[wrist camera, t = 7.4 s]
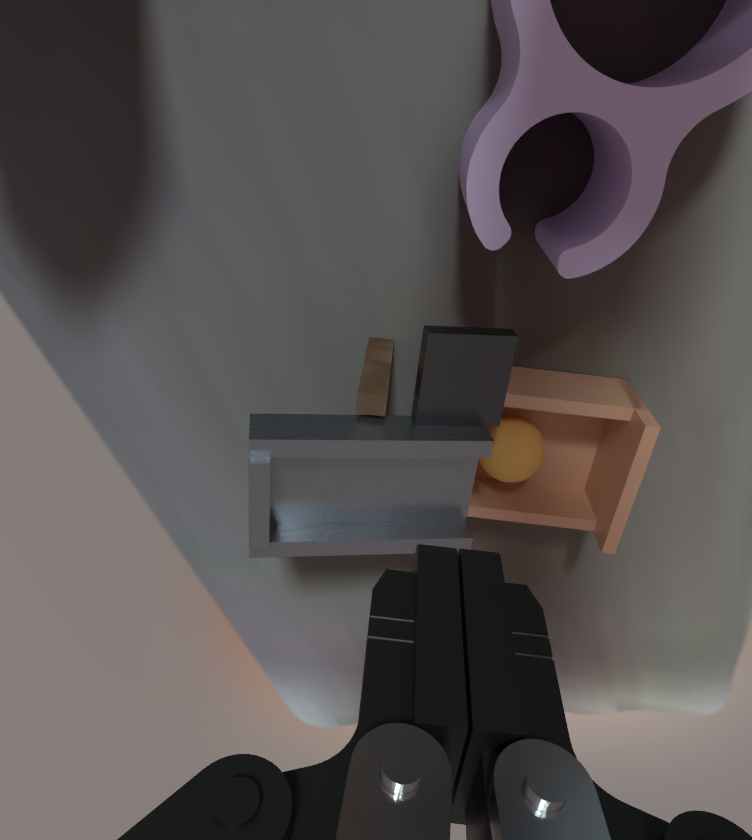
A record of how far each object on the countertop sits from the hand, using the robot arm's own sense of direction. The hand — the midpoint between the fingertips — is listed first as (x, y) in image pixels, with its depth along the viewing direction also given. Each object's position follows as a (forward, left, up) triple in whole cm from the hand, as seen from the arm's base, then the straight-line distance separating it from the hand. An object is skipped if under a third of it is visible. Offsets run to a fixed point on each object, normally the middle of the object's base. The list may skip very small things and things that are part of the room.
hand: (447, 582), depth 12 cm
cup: (+11, +8, -27) cm, 30 cm away
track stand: (+11, -2, -27) cm, 29 cm away
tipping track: (+8, -2, -20) cm, 22 cm away
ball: (+11, +6, -24) cm, 27 cm away
